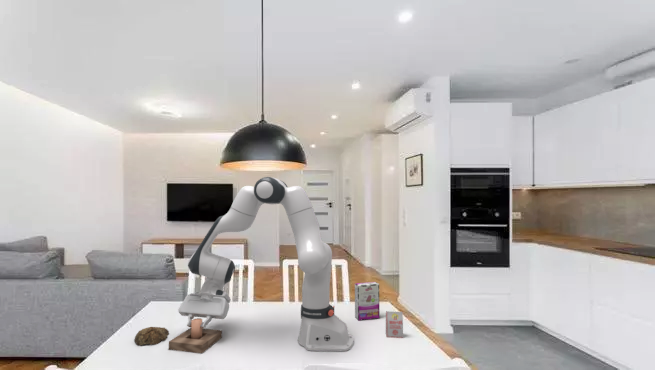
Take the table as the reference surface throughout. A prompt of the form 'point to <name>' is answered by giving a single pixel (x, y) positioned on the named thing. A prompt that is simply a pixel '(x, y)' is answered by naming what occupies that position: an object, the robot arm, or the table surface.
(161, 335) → the bread roll
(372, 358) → the table surface
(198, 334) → the pin
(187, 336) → the pin board
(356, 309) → the candy bar box
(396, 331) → the white red box
